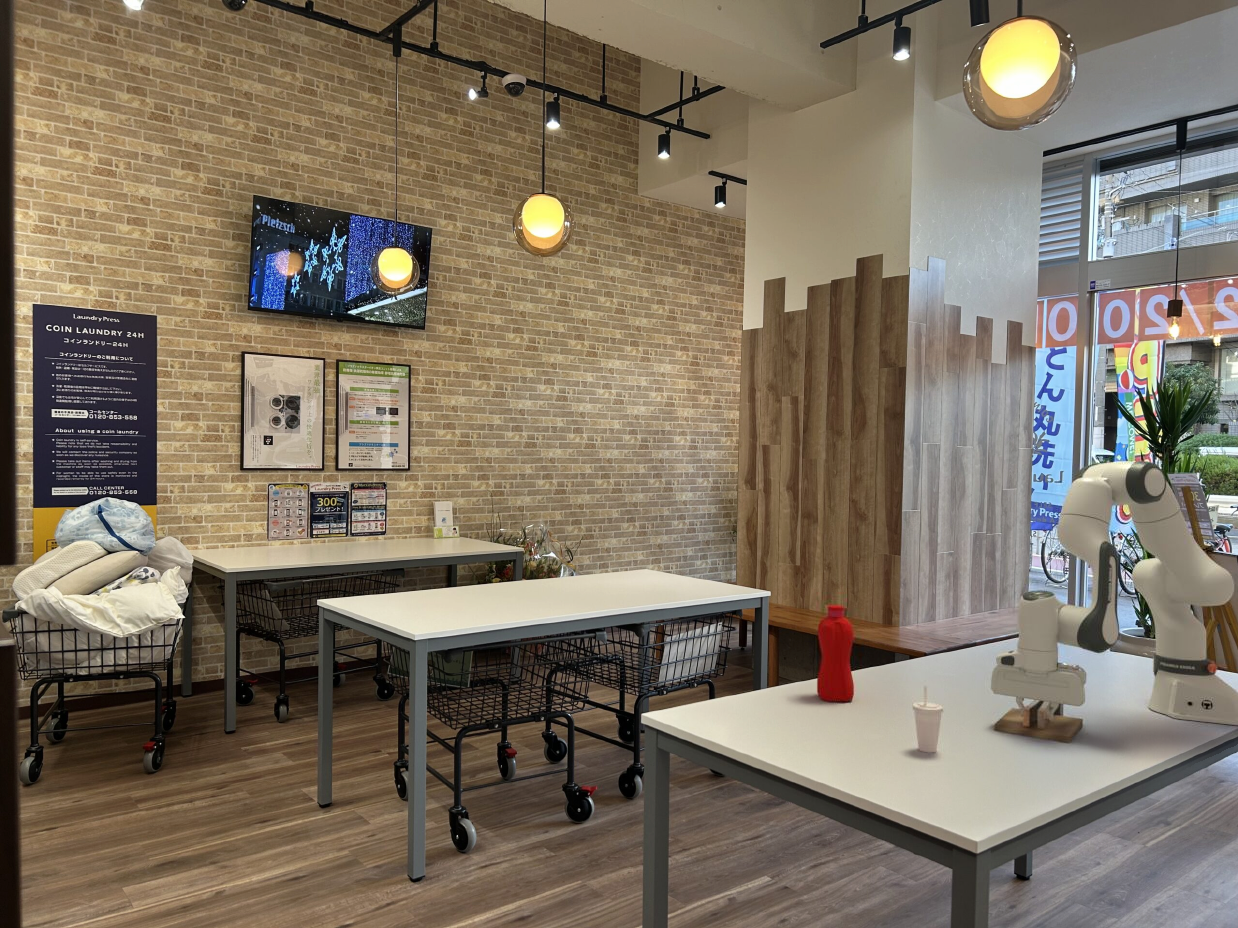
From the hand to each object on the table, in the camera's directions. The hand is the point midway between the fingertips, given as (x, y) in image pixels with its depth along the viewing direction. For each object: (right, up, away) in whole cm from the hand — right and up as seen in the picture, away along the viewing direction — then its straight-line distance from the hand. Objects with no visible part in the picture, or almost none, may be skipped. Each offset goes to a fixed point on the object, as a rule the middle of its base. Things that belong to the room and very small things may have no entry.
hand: (1036, 718), depth 209 cm
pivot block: (+9, -3, +12) cm, 15 cm away
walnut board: (+2, -3, +3) cm, 4 cm away
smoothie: (-31, -3, -15) cm, 35 cm away
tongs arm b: (+1, -1, +4) cm, 4 cm away
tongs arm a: (+3, -1, +2) cm, 4 cm away
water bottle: (-41, -3, +29) cm, 50 cm away
